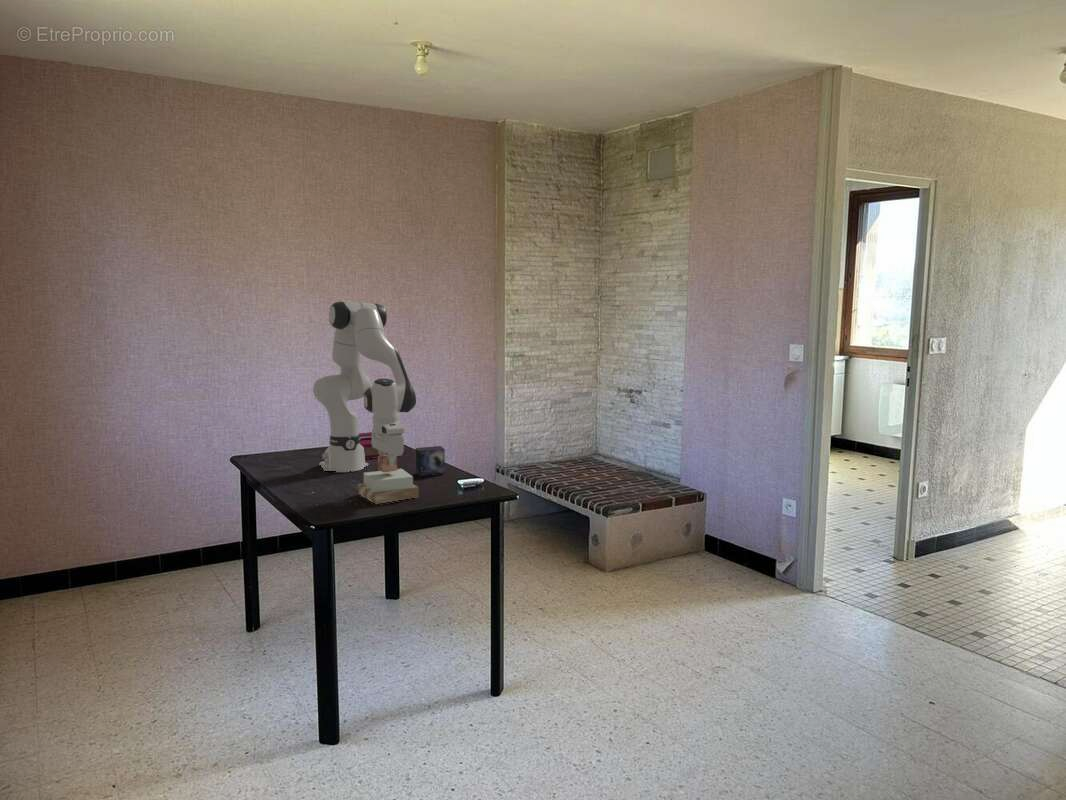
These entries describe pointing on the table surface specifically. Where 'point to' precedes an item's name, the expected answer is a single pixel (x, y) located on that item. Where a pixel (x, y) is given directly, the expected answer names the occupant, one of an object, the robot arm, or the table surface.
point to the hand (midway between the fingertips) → (387, 464)
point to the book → (368, 445)
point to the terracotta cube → (386, 464)
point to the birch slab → (388, 494)
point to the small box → (430, 460)
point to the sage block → (388, 480)
